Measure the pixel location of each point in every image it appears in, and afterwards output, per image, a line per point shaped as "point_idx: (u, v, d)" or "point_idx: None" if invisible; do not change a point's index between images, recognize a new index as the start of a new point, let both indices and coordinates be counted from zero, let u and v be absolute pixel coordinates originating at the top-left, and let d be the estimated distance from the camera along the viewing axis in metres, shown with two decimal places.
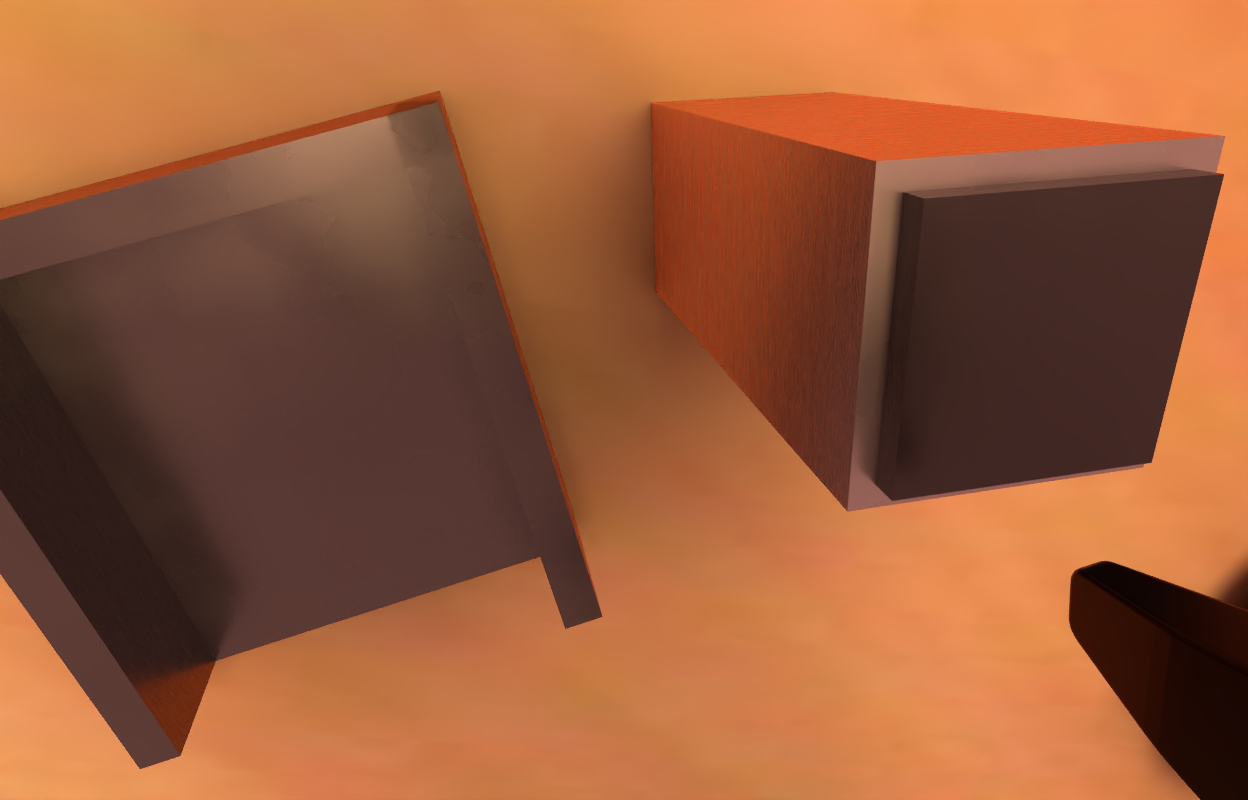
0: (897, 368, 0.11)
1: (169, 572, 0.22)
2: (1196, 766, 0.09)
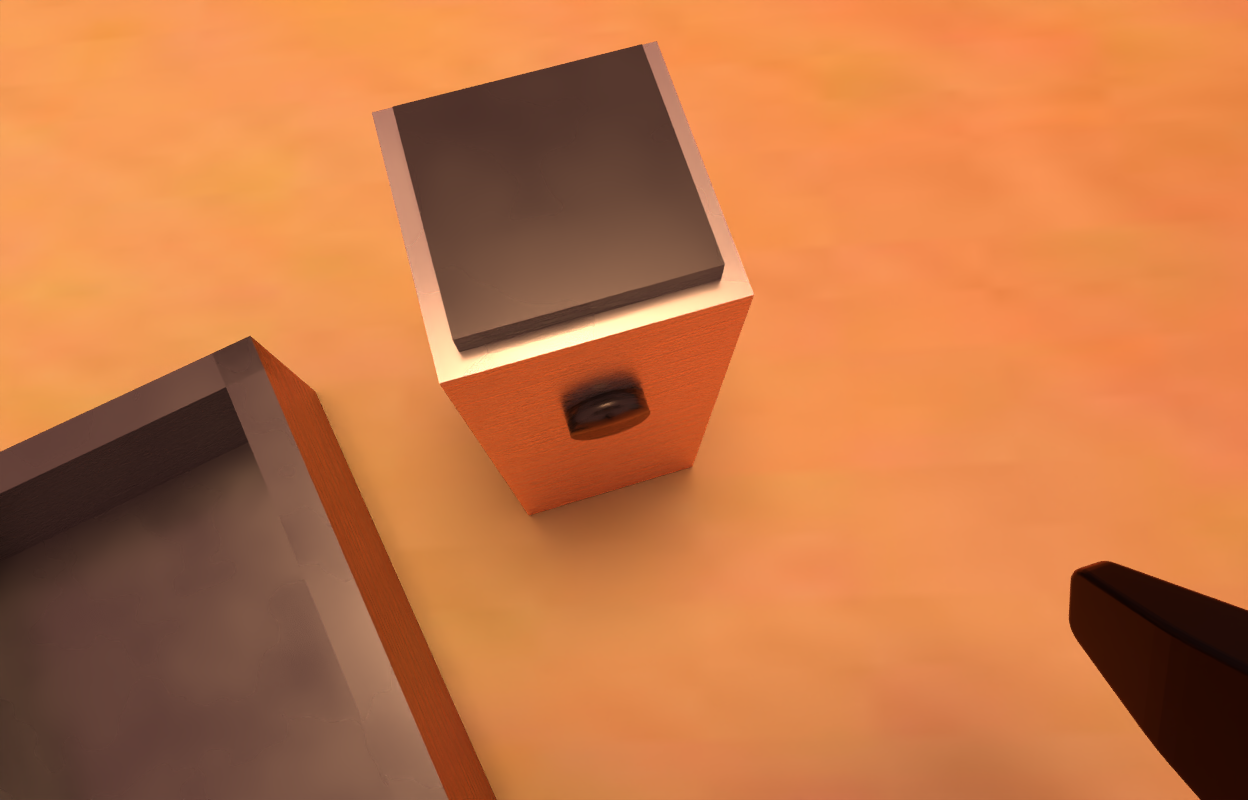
0: None
1: None
2: (1196, 766, 0.09)
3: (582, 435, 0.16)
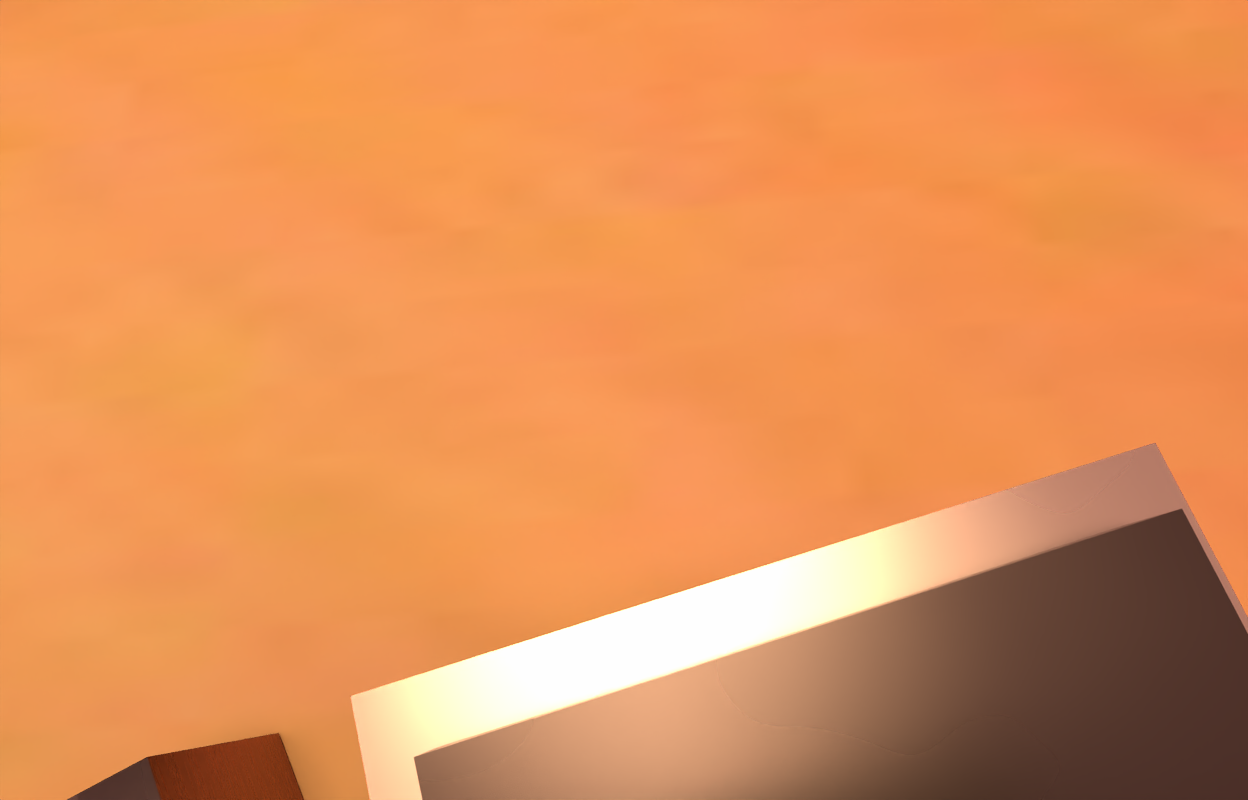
0: None
1: None
2: None
3: None
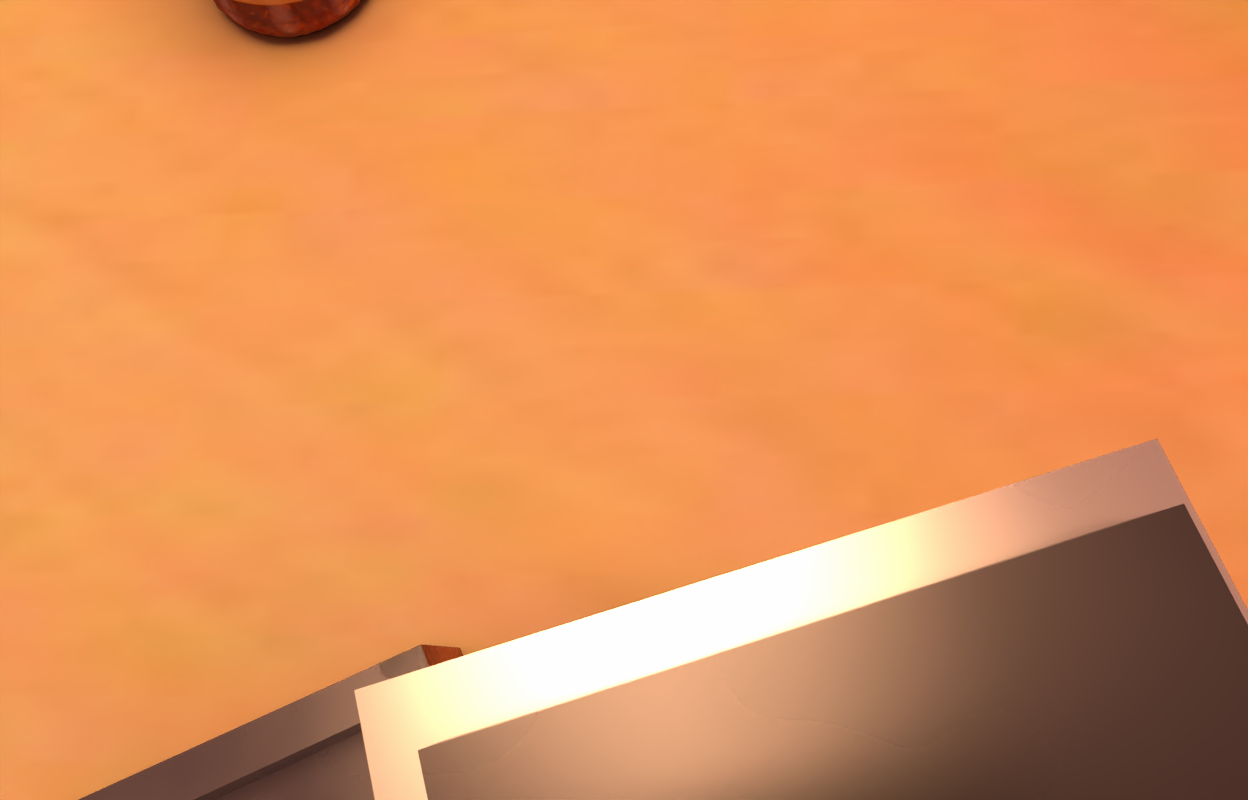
0: None
1: None
2: None
3: None
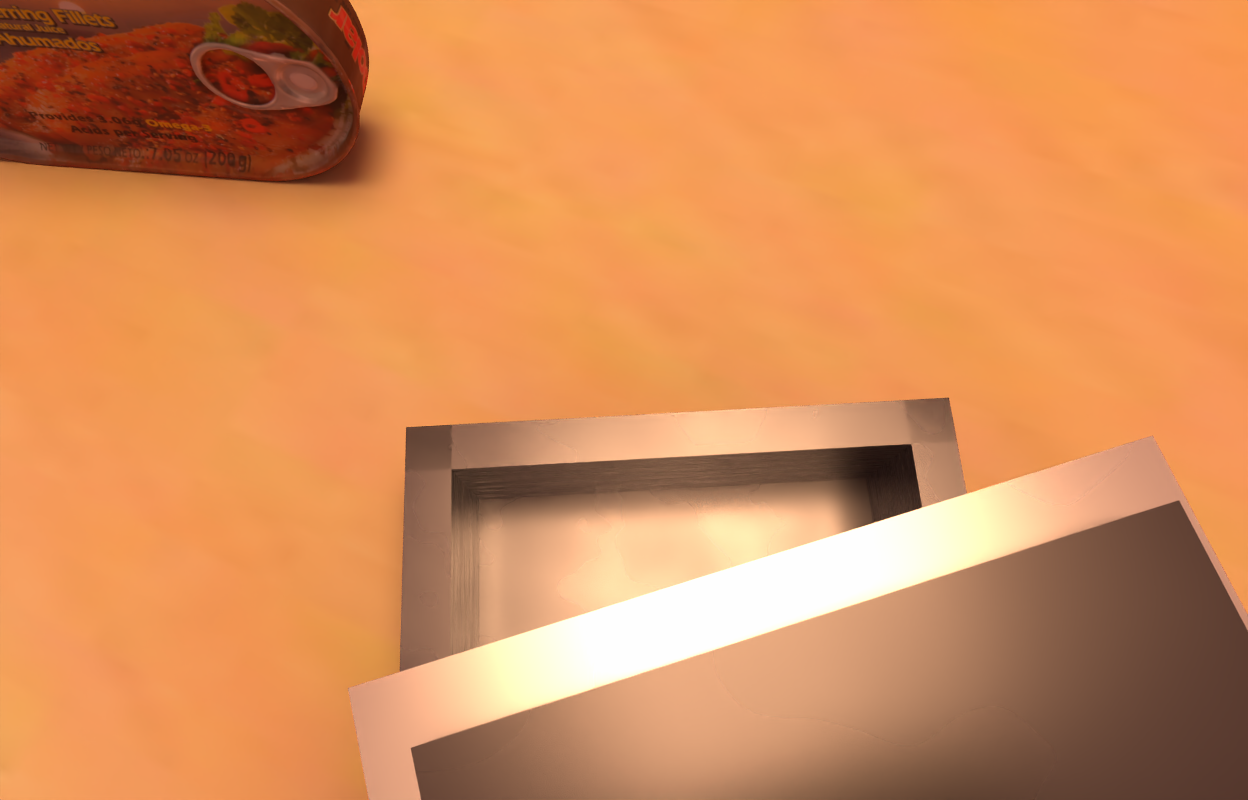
0: None
1: None
2: None
3: None
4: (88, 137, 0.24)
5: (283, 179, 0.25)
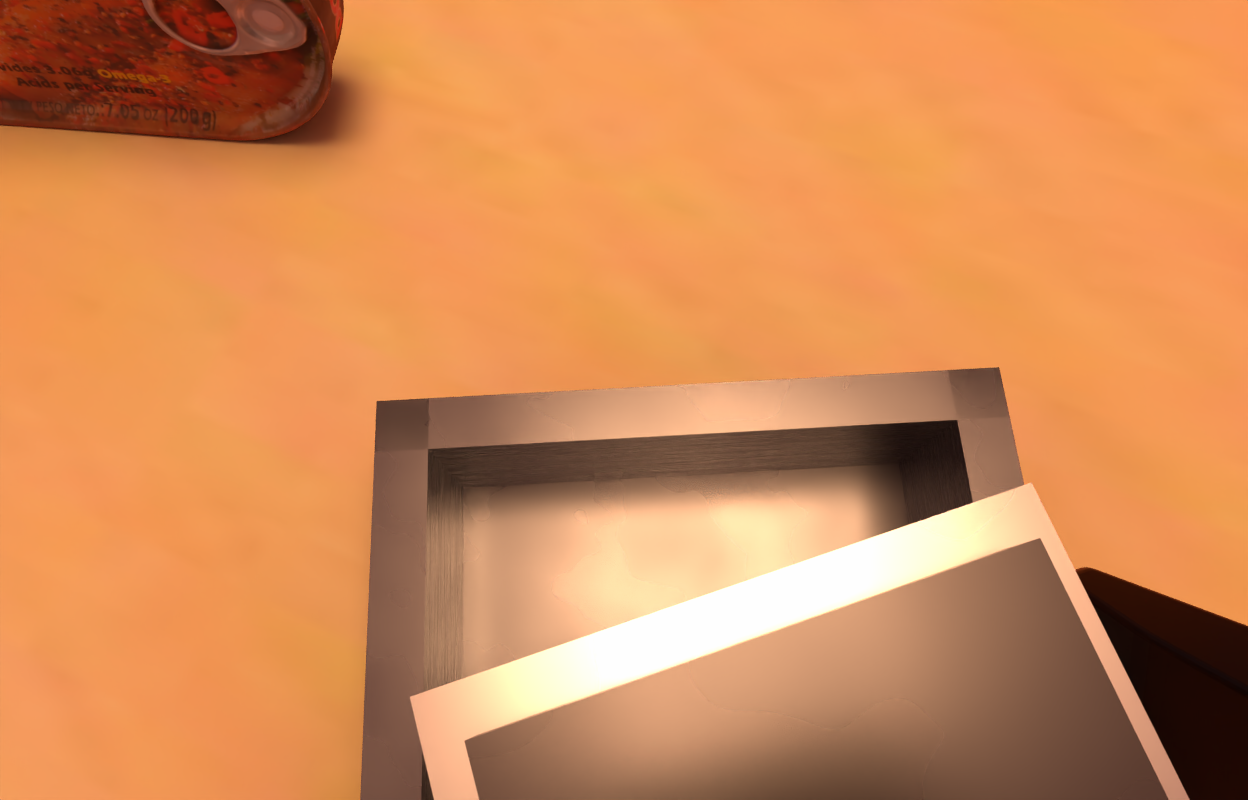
0: None
1: None
2: None
3: None
4: (37, 91, 0.22)
5: (251, 138, 0.23)
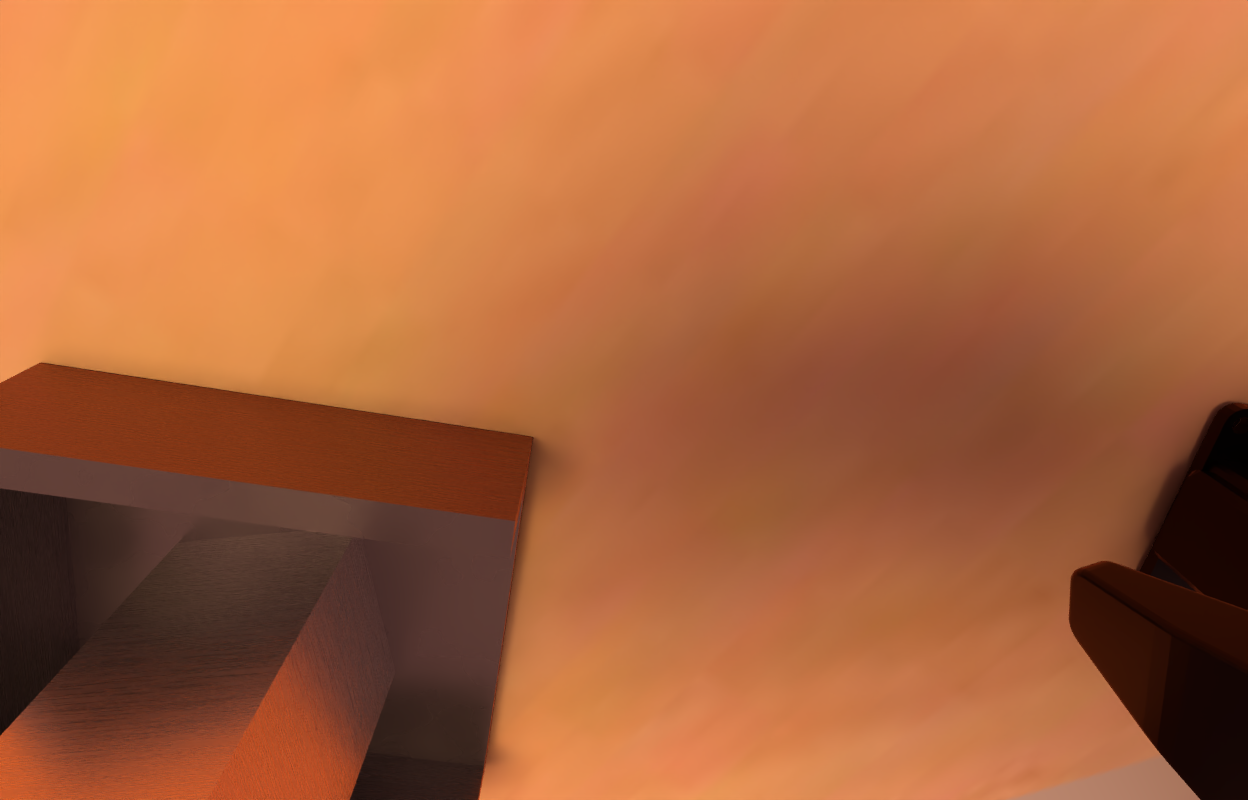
0: None
1: (381, 750, 0.25)
2: (1196, 766, 0.09)
3: None
4: None
5: None
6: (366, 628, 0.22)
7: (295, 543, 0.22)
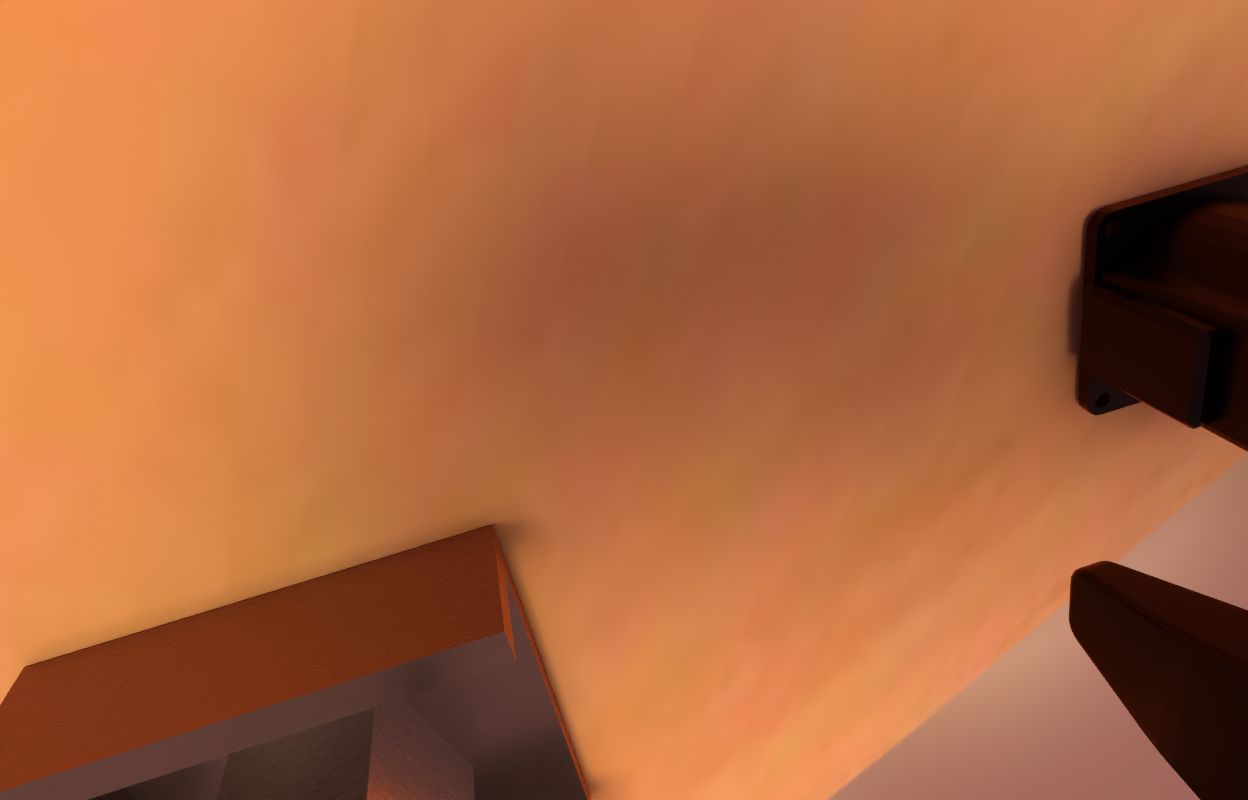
0: None
1: None
2: (1196, 766, 0.09)
3: None
4: None
5: None
6: (427, 753, 0.23)
7: None
